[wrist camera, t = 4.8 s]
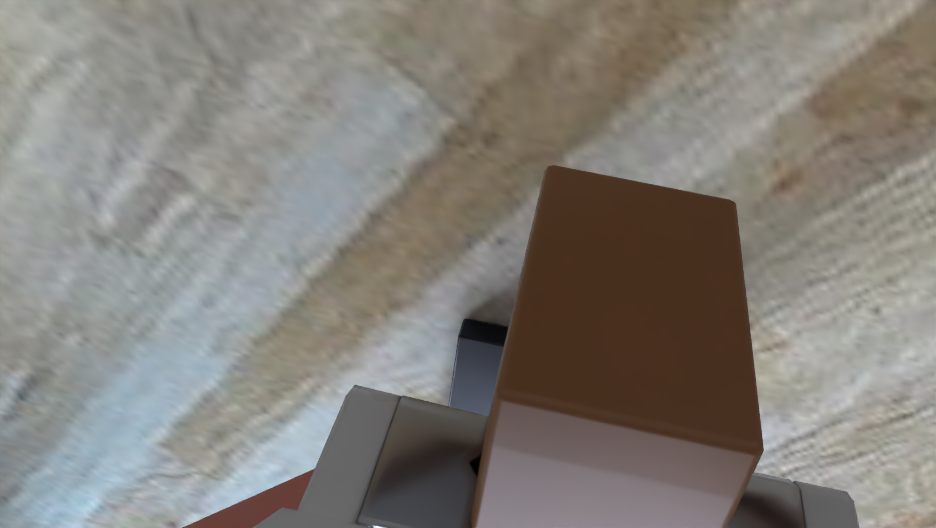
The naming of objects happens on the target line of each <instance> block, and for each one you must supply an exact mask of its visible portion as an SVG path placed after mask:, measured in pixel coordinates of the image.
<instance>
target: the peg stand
mask: <svg viewBox="0 0 936 528" xmlns="http://www.w3.org/2000/svg"><path fill="white" fill-rule="evenodd" d="M507 331H508V327H504V326H499V325H495V324H490V323H485V322H480V321H475V320H470V319H464V320H463V322H462V326H461V329H460V333H459V336H458V343H457V350H456V357H455V364H454V371H453V378H452V386H451V393H450V400H449V407H452V408H457V409H461V410H465V411H469V412H473V413H477V414H481V415H485V416H489V413H490V408H491V402H492V397H493V392H494V387H495V383H496V379H497V374H498V370H499V366H500V362H501V357H502V353H503V349H504V344H505V340H506V336H507Z"/></svg>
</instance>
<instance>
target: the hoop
mask: <svg viewBox="0 0 936 528" xmlns="http://www.w3.org/2000/svg"><path fill="white" fill-rule="evenodd" d="M763 451H764V448H763V439H762V431H761V422H760V413H759V404H758V395H757V386H756V377H755V368H754V360H753V351H752V342H751V333H750V324H749V315H748V306H747V297H746V288H745V280H744V271H743V262H742V253H741V244H740V235H739V226H738V217H737V209H736V203H735V202H733V201H731V200H729V199H724V198H719V197H714V196H708V195H703V194H698V193H693V192H688V191H683V190H678V189H673V188H668V187H663V186H657V185H652V184H647V183H642V182H637V181H632V180H627V179H622V178H617V177H612V176H607V175H601V174H596V173H591V172H586V171H581V170H576V169H571V168H566V167H561V166H556V165H551V166H548V167H547V169H546V170H545V172H544V176H543V180H542V185H541V189H540V193H539V198H538V202H537V206H536V211H535V215H534V219H533V224H532V228H531V232H530V237H529V241H528V245H527V249H526V254H525V258H524V262H523V267H522V271H521V275H520V280H519V284H518V288H517V293H516V297H515V301H514V306H513V310H512V314H511V318H510V323H509V327H508V331H507V336H506V340H505V344H504V349H503V353H502V357H501V362H500V366H499V370H498V374H497V379H496V383H495V387H494V392H493V397H492V402H491V408H490V413H489V418H488V424H487V429H486V434H485V440H484V445H483V450H482V455H481V461H480V466H479V471H478V477H477V482H476V487H475V493H474V498H473V503H472V509H471V514H470V522H471V525H472V528H727V527H728V525H729V523H730V521H731V519H732V517H733V515H734V513H735V510H736V508H737V506H738V504H739V502H740V500H741V498H742V496H743V494H744V491H745V489H746V487H747V485H748V483H749V481H750V479H751V477H752V475H753V472H754V470H755V468H756V466H757V464H758V462H759V460H760V458H761V455H762V453H763ZM314 470H315V469H313V470H311V471H308V472H306V473H304V474H302V475H300V476H297V477H295V478H293V479H291V480H288V481H286V482H284V483H282V484H279V485H277V486H275V487H273V488H270V489H268V490H266V491H264V492H261V493H259V494H257V495H255V496H252V497H250V498H248V499H246V500H244V501H241V502H239V503H237V504H235V505H232V506H230V507H228V508H226V509H223V510H221V511H219V512H217V513H214V514H212V515H210V516H208V517H205V518H203V519H201V520H199V521H196V522H194V523H192V524H190V525H187V526H185V527H183V528H253V527H254V526H256V525H257V524H259V523H260V522H262V521H263V520H265V519H266V518H268V517H269V516H271V515H272V514H274V513H275V512H277V511H278V510H279V509H281V508H282V507H283V508H288V509H293V510H298V508H299V505H300V503H301V500H302V498H303V496H304V493H305V491H306V489H307V486H308V484H309V482H310V479H311V477H312V475H313V472H314Z"/></svg>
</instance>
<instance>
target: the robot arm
mask: <svg viewBox="0 0 936 528" xmlns="http://www.w3.org/2000/svg"><path fill="white" fill-rule="evenodd" d="M488 418H489V416H485V415H481V414H477V413H473V412H469V411H465V410H461V409H457V408H452V407H448V406H444V405H440V404H436V403H432V402H428V401H424V400H419V399H415V398H411V397H407V396H399V395H395V394H391V393H387V392H383V391H378V390H374V389H370V388H366V387H362V386H358V385H354V386H353V388H352V389H351V390H350V391H349V393H348V394H347V395H346V397H345V399H344V402H343V404H342V406H341V409H340V411H339V413H338V416H337V418H336V420H335V423H334V425H333V427H332V430H331V432H330V435H329V437H328V439H327V442H326V444H325V446H324V449H323V451H322V453H321V456H320V458H319V460H318V463H317V465H316V468H315V470H314V472H313V475H312V477H311V479H310V482H309V484H308V486H307V489H306V491H305V493H304V496H303V498H302V500H301V503H300V505H299V508H298V510H293V509H288V508H283V507H282V508H281V509H279V510H278V511H277V512H275V513H274V514H272V515H271V516H269V517H268V518H266V519H265V520H263V521H262V522H260V523H259V524H257V525H256V526H254V527H253V528H472V525H471V522H470V514H471V509H472V503H473V498H474V493H475V487H476V482H477V477H478V471H479V466H480V461H481V455H482V450H483V445H484V440H485V434H486V429H487V424H488ZM727 528H859V523H858V519H857V514H856V510H855V505H854V501H853V500H852V498H851V497H850V495H849V494H848V493H847V492H846V491H841V490H836V489H832V488H827V487H822V486H817V485H812V484H808V483H803V482H798V481H793V482H792V481H791V480H789V479H785V478H780V477H775V476H770V475H765V474H760V473H755V472H753V475H752V477H751V479H750V481H749V483H748V485H747V487H746V489H745V491H744V494H743V496H742V498H741V500H740V502H739V504H738V506H737V508H736V510H735V513H734V515H733V517H732V519H731V521H730V523H729V525H728V527H727Z"/></svg>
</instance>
